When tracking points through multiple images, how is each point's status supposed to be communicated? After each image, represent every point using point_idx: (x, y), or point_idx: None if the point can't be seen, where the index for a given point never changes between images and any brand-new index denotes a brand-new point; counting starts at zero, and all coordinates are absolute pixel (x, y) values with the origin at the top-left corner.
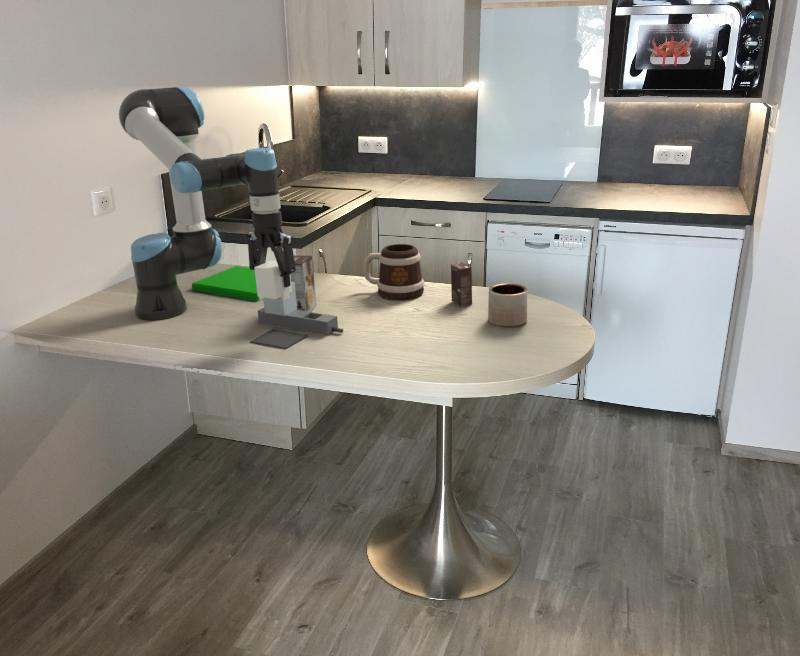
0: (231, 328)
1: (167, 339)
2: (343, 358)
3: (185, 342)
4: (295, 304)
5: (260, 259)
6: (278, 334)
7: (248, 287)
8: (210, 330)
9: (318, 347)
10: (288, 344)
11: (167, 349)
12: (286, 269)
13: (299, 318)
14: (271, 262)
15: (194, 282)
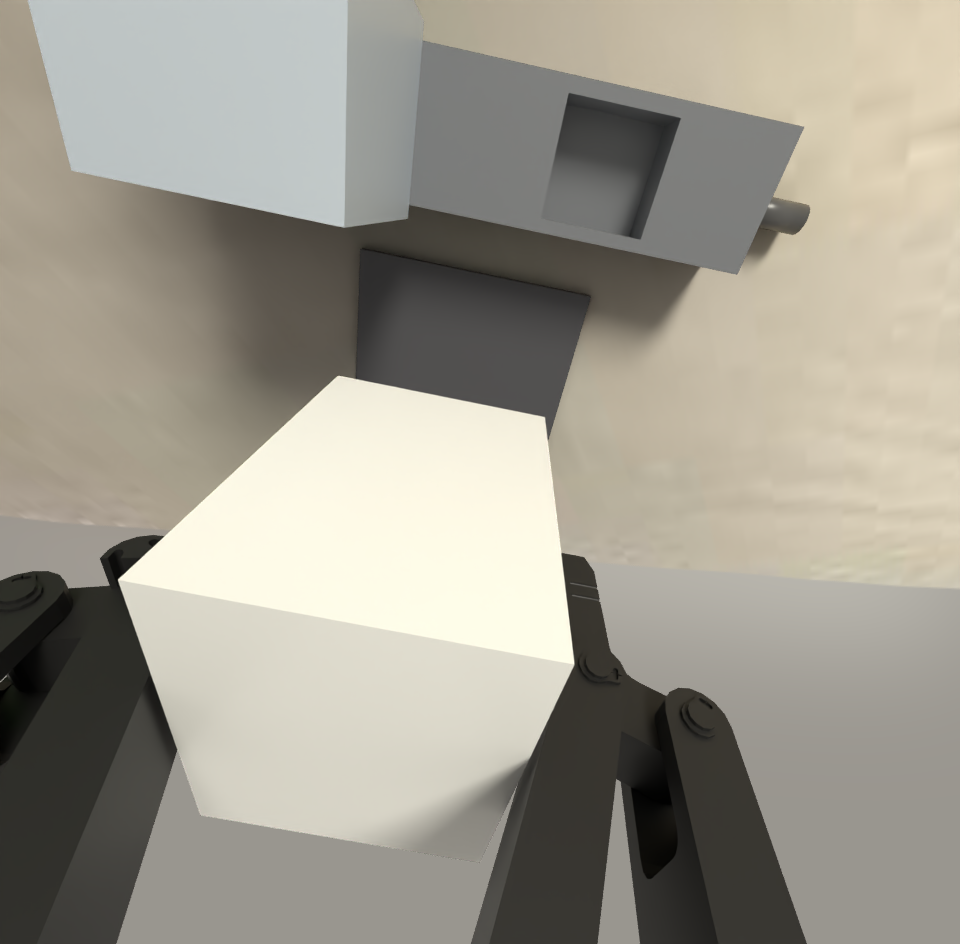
0: (142, 276)
1: (26, 452)
2: (805, 495)
3: (116, 465)
4: (413, 29)
5: (138, 872)
6: (434, 324)
7: None
8: (77, 326)
9: (678, 416)
10: None
11: (123, 526)
12: (629, 814)
13: (521, 228)
14: (238, 673)
15: None
